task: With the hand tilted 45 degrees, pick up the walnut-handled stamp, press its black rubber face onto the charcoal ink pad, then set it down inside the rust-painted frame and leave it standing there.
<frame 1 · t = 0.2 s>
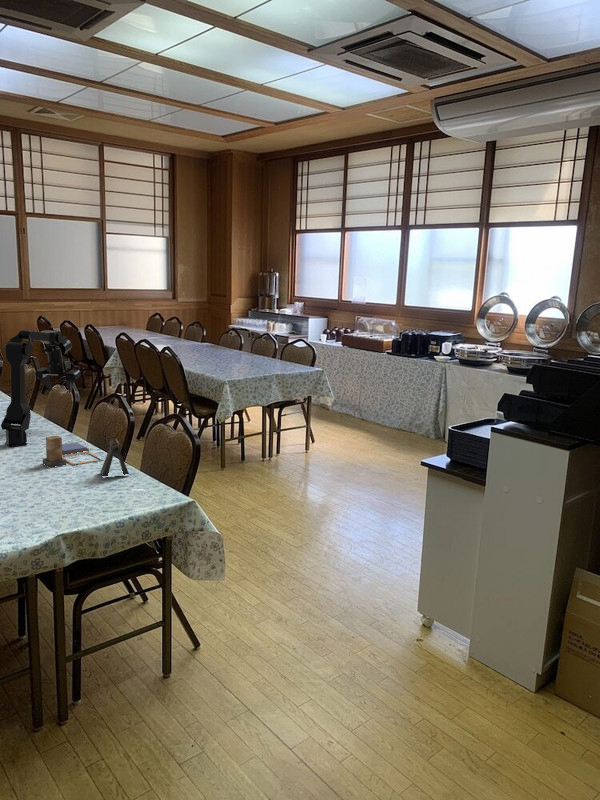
hand: (60, 391, 269), 15 cm above the table, tool pointing down, fingers open, 9 cm apart
ink pad: (70, 450, 234), on the table
marked frame: (81, 458, 224), on the table
dark brown a-frame stand: (114, 475, 208), on the table
stamp: (54, 464, 216), on the table
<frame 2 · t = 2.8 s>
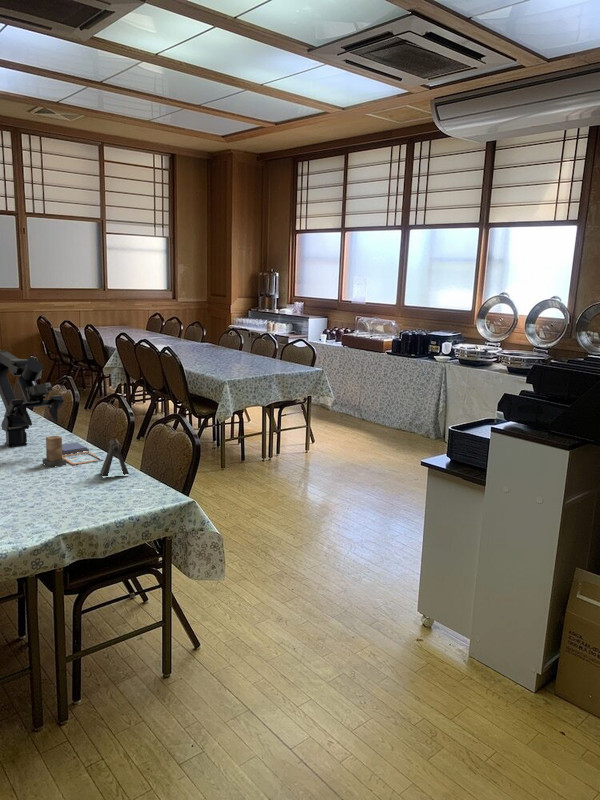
hand: (44, 423, 218), 14 cm above the table, tool tilted 45°, fingers open, 9 cm apart
nothing on the table moved.
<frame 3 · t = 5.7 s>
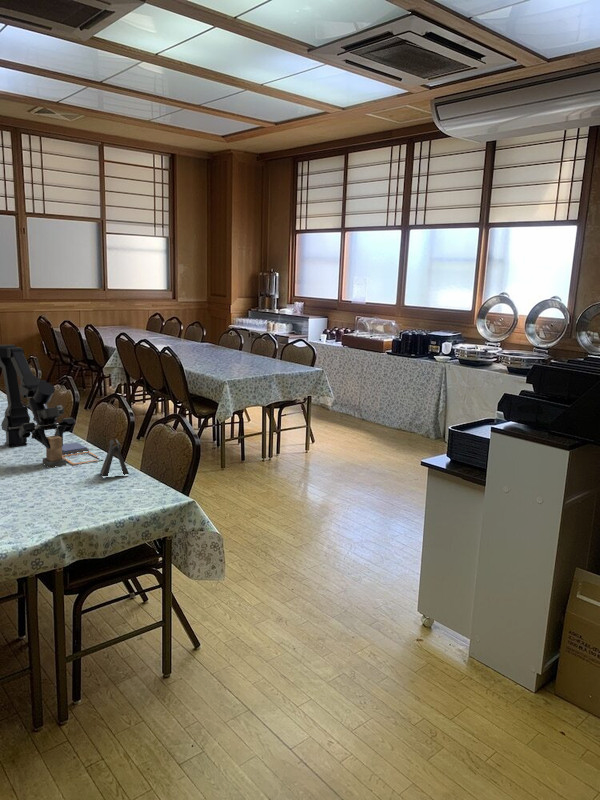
hand: (55, 447, 214), 7 cm above the table, tool tilted 45°, fingers closed on stamp, 4 cm apart
stamp: (54, 464, 216), on the table, touching gripper
everything else where it was.
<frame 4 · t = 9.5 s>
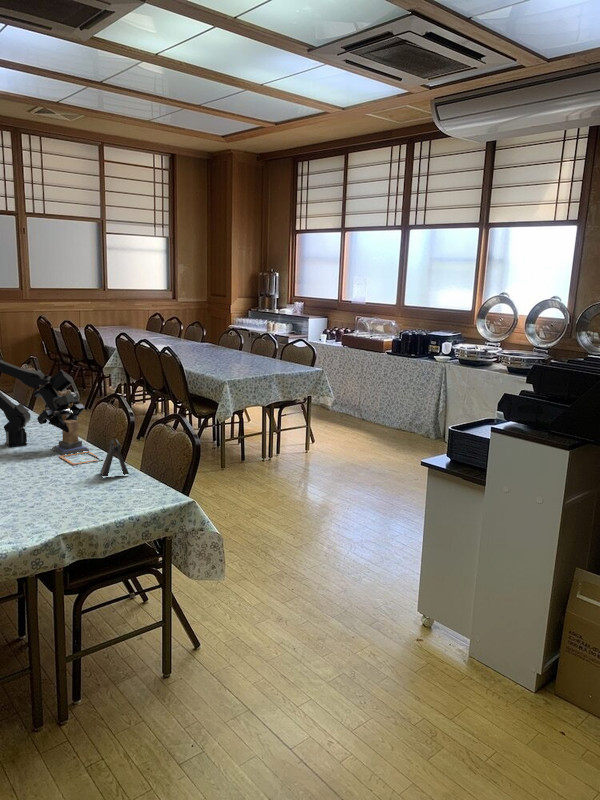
hand: (73, 430, 232), 8 cm above the table, tool tilted 45°, fingers closed on stamp, 4 cm apart
stamp: (70, 446, 234), point 2 cm above the table, touching gripper, ink pad
everything else where it was.
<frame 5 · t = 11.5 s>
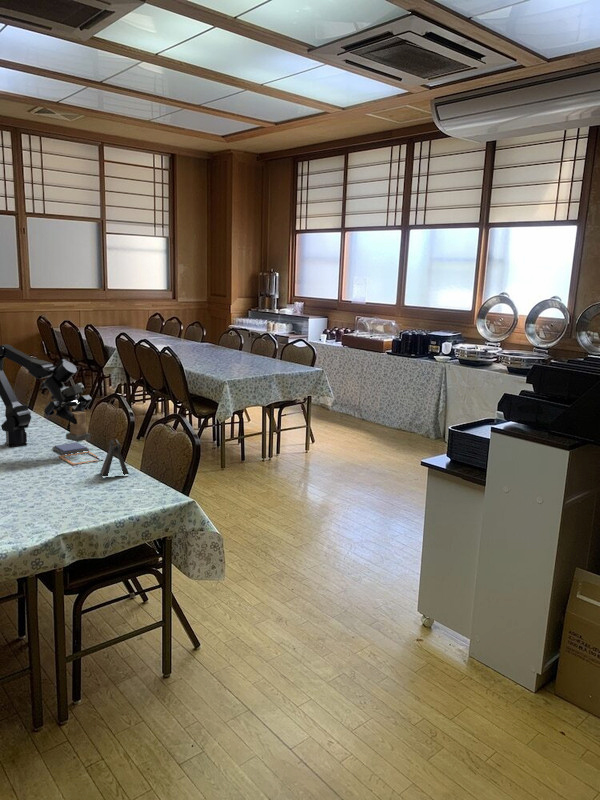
hand: (81, 422, 225), 13 cm above the table, tool tilted 45°, fingers closed on stamp, 4 cm apart
stamp: (78, 438, 227), point 7 cm above the table, touching gripper
everything else where it was.
when the fingers open (7 cm above the table, at t = 13.4 s): stamp drops 1 cm, resting in marked frame.
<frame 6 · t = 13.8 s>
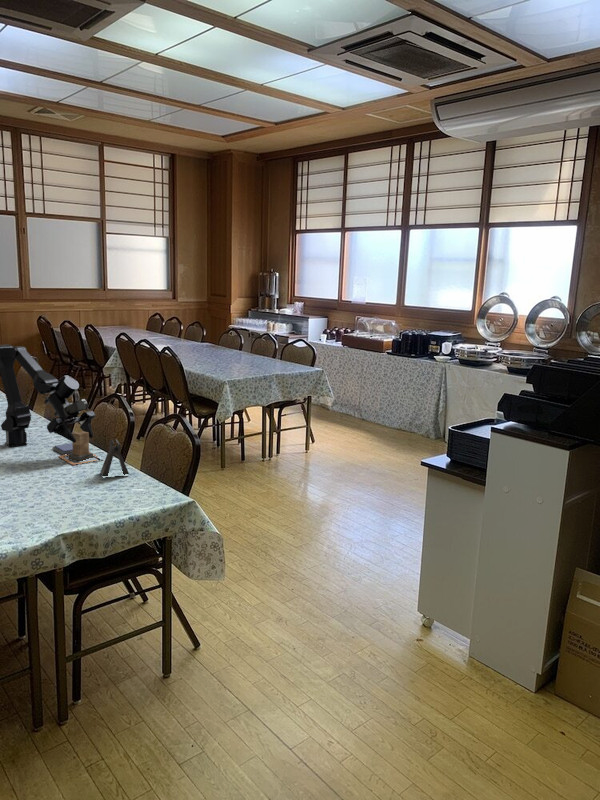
hand: (83, 439, 222), 8 cm above the table, tool tilted 45°, fingers open, 8 cm apart
stamp: (80, 458, 224), resting in marked frame
everything else where it was.
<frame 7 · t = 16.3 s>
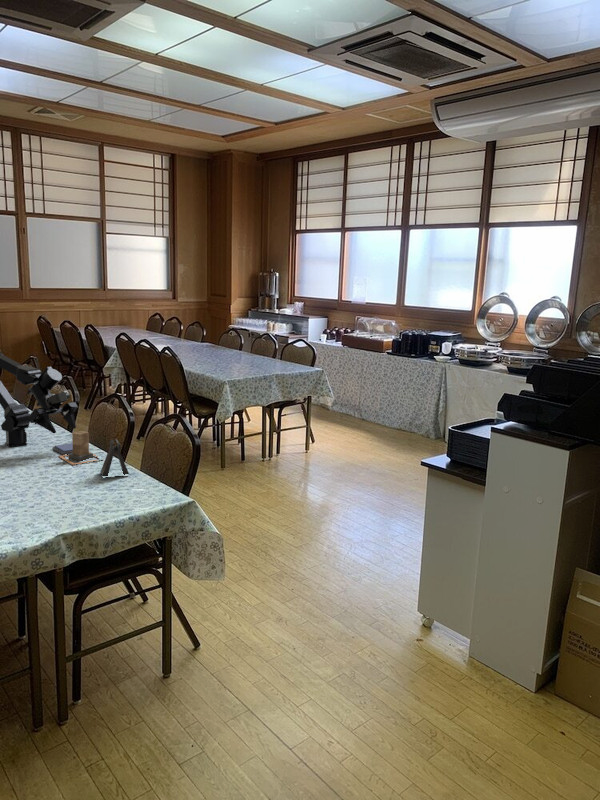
hand: (65, 430, 226), 10 cm above the table, tool tilted 45°, fingers open, 9 cm apart
nothing on the table moved.
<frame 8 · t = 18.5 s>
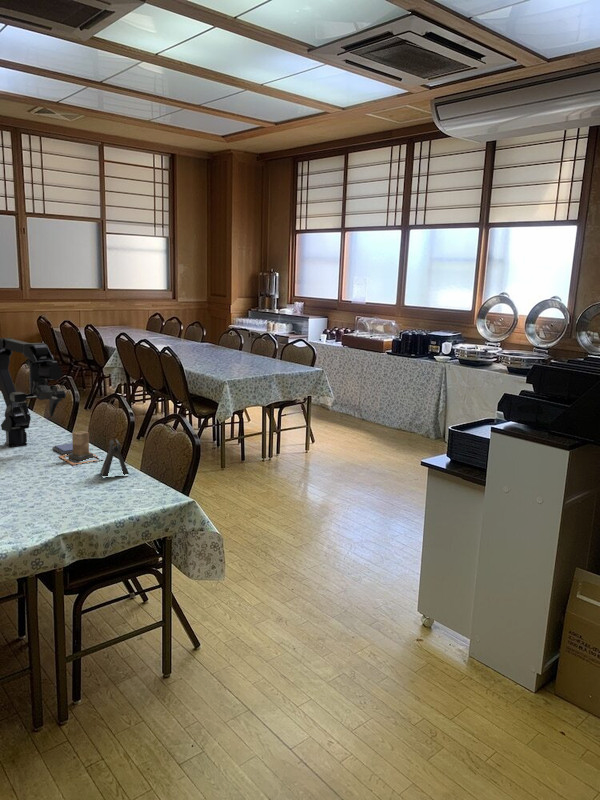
hand: (39, 418, 228), 13 cm above the table, tool pointing down, fingers open, 9 cm apart
nothing on the table moved.
at the end: stamp inside the target area on the marked frame (0.3 cm from its centre), point 0.0 cm above the marked frame's base; stamp tilted 0°; the gripper is holding nothing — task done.
